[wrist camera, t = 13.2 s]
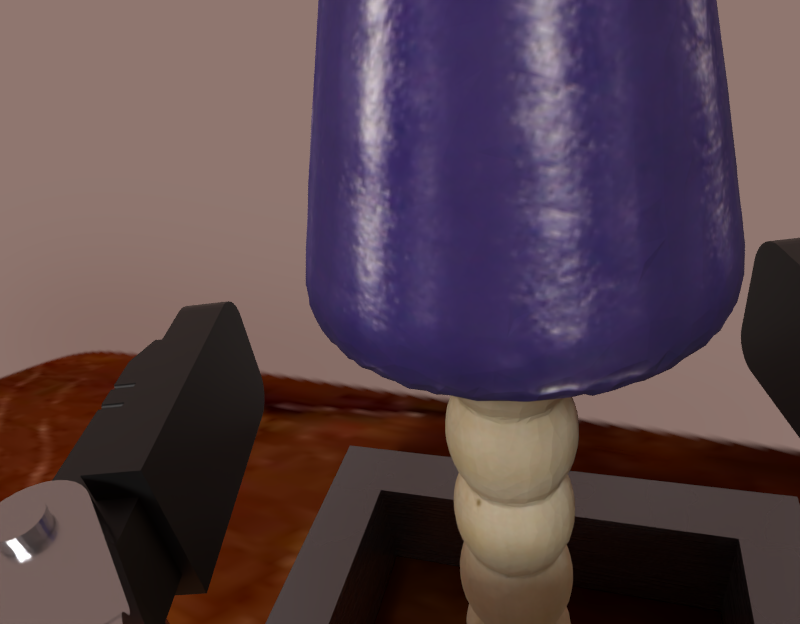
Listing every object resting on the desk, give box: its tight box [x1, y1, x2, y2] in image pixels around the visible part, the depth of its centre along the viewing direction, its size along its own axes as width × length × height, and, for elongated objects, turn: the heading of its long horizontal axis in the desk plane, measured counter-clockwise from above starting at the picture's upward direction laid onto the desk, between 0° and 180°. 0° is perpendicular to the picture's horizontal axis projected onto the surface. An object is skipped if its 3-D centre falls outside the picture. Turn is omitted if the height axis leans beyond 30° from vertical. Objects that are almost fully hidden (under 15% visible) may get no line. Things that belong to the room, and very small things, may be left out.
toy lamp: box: [306, 0, 745, 624], centre depth 9 cm, size 5×5×17 cm
